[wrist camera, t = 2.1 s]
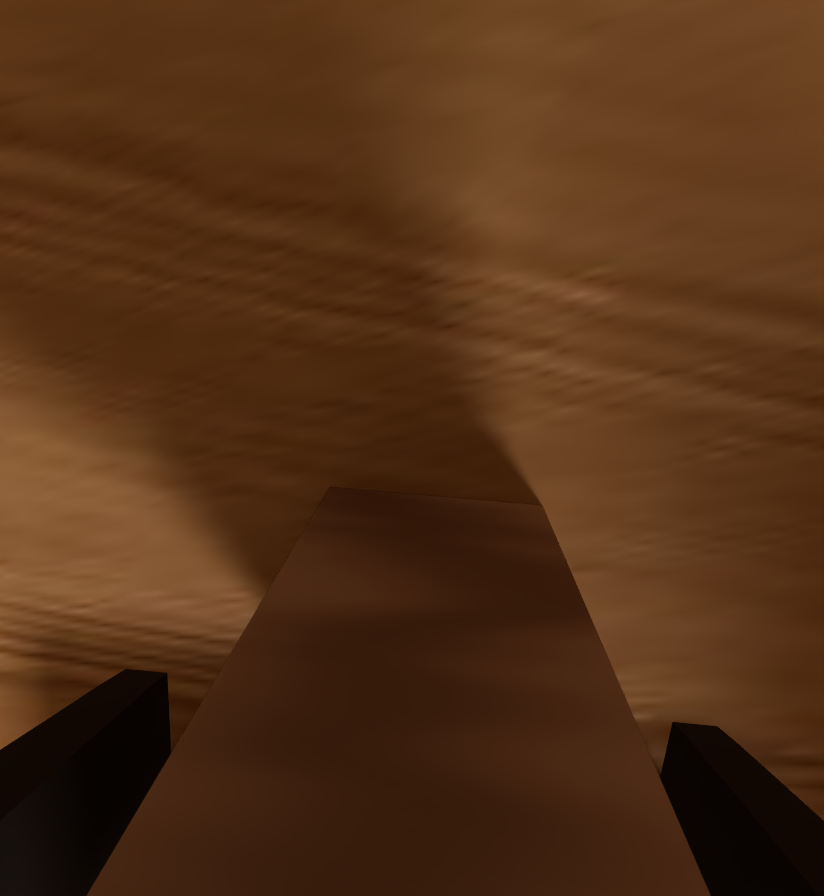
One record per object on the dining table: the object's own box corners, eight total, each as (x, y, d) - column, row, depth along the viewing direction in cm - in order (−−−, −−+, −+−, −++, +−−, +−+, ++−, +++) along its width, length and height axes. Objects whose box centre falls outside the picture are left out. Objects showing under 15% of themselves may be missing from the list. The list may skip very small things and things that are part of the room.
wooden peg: (542, 505, 12) (759, 1009, 4) (516, 688, 14) (637, 1393, 5) (329, 486, 13) (66, 930, 4) (323, 669, 14) (111, 1317, 5)
